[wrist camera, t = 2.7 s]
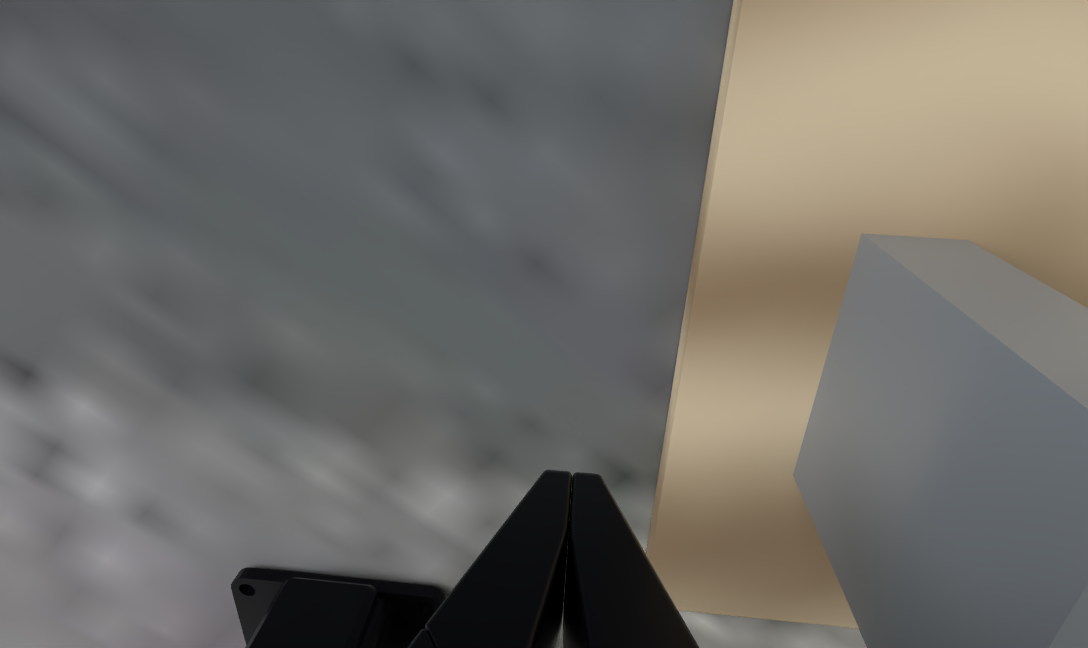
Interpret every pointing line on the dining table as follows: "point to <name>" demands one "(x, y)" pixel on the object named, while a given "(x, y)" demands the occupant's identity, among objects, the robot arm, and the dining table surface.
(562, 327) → the dining table surface
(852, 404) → the block
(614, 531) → the robot arm
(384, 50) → the dining table surface
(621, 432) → the dining table surface
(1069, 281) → the board
